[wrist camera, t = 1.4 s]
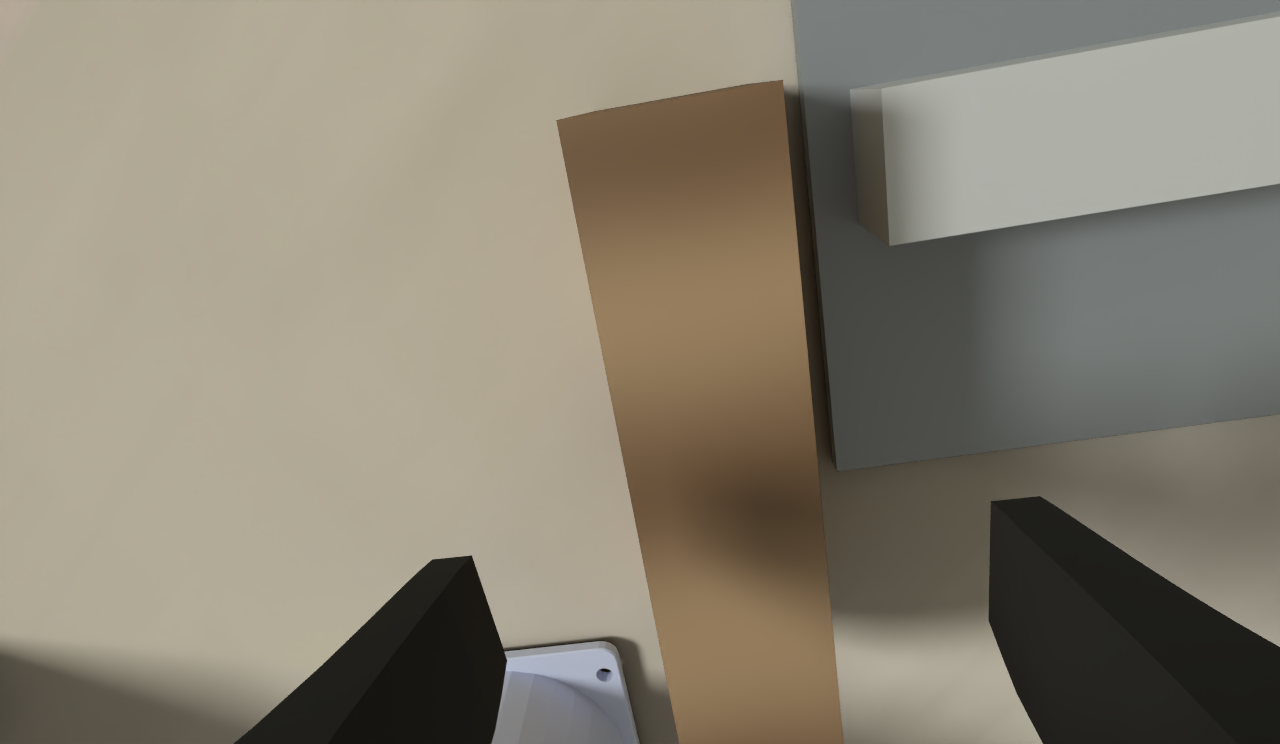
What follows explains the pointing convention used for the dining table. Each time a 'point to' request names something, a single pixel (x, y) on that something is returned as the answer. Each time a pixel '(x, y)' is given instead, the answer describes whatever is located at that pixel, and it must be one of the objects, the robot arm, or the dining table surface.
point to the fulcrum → (1040, 218)
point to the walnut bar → (713, 402)
